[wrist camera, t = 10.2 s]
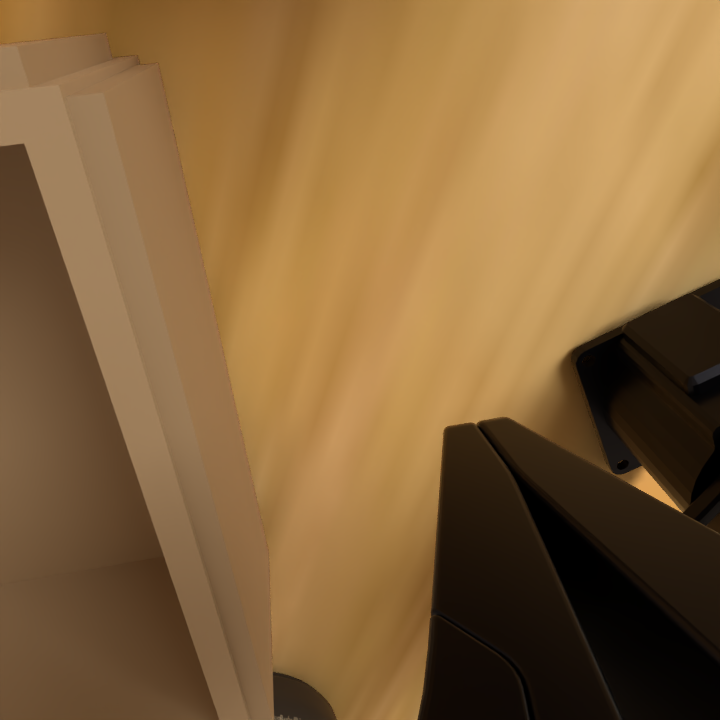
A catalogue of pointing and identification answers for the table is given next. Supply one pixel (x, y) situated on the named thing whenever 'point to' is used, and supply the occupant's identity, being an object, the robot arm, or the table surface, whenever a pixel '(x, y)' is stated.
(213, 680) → the shipping carton
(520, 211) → the table surface
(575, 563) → the robot arm
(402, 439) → the table surface
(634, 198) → the table surface
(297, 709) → the jar
